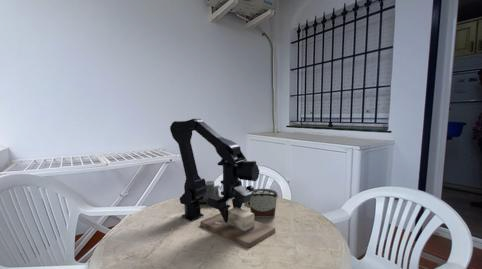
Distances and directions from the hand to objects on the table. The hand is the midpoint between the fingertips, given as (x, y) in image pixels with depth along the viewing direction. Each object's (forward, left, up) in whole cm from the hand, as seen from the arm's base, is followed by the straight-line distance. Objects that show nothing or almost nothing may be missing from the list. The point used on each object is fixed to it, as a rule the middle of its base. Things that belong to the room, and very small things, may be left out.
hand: (231, 219), depth 88 cm
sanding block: (+5, 0, -1) cm, 5 cm away
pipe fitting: (-26, +11, -3) cm, 29 cm away
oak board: (+3, 0, -3) cm, 4 cm away
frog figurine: (-12, +23, -3) cm, 26 cm away
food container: (+2, +17, -3) cm, 17 cm away
